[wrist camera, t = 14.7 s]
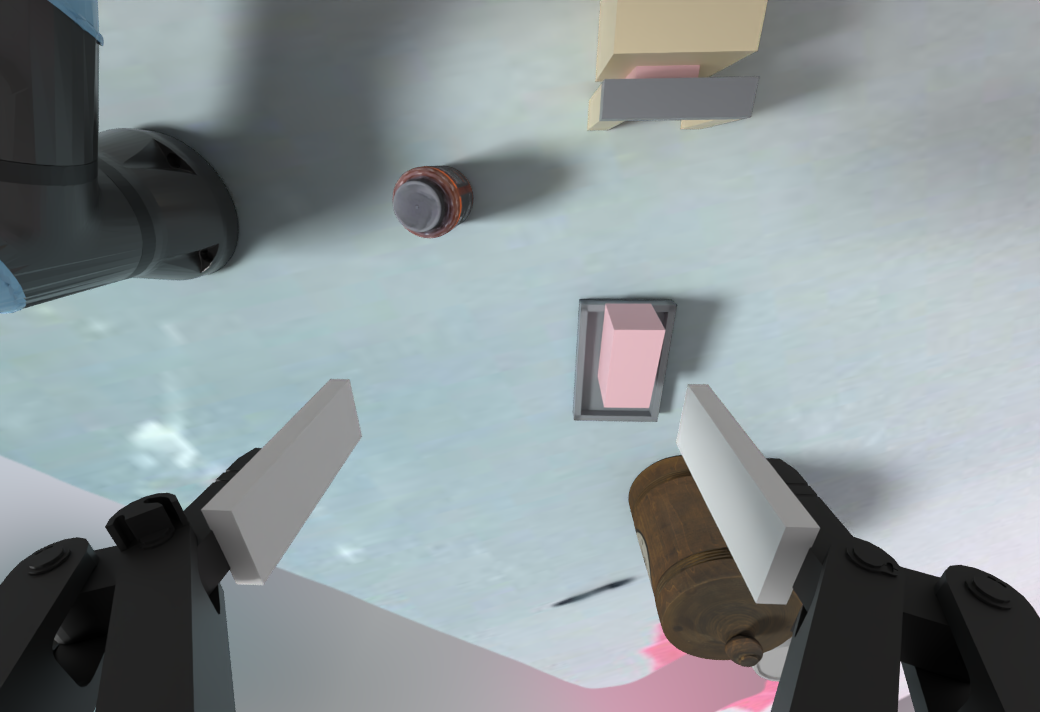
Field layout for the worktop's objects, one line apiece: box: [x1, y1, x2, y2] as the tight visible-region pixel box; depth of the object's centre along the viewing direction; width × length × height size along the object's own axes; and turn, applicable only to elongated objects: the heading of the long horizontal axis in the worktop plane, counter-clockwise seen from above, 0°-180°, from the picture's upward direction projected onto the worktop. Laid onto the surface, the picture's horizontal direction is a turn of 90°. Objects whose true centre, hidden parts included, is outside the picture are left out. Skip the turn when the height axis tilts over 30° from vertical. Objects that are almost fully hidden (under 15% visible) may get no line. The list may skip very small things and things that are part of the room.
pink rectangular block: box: [598, 303, 665, 408], centre depth 44 cm, size 5×10×6 cm, turn 1°
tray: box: [573, 299, 677, 422], centre depth 48 cm, size 11×16×2 cm
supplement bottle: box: [393, 166, 473, 238], centre depth 37 cm, size 6×6×11 cm
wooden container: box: [629, 456, 802, 667], centre depth 48 cm, size 15×15×22 cm
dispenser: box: [587, 0, 768, 131], centre depth 32 cm, size 11×12×10 cm
